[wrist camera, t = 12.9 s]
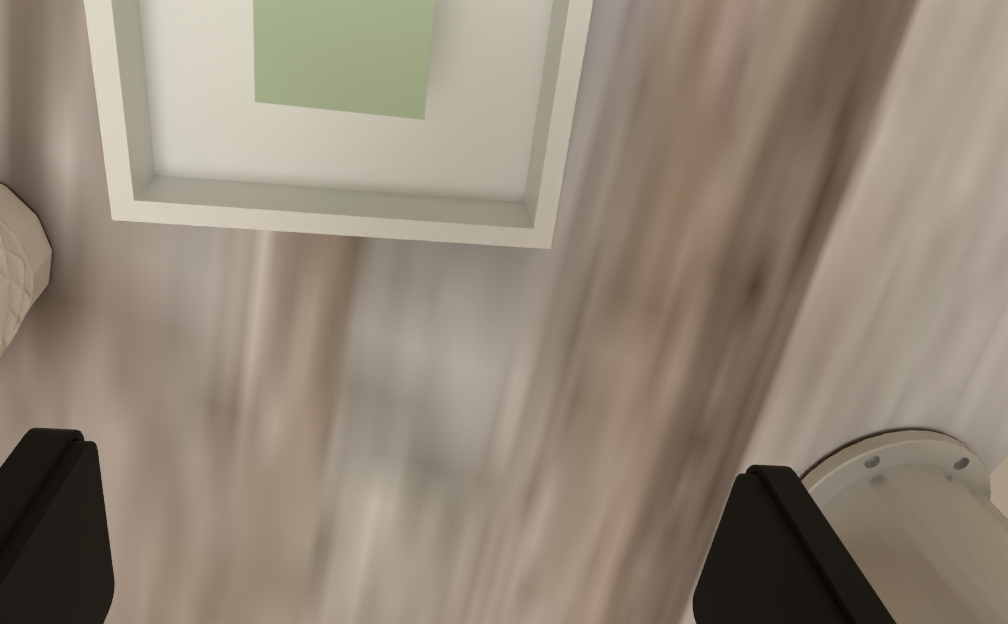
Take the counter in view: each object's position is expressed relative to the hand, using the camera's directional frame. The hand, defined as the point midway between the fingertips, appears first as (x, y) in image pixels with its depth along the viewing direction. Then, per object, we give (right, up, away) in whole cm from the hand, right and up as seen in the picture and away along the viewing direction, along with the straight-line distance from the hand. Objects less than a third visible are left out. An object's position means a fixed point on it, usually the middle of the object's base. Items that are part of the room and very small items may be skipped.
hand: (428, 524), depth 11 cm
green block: (-4, +14, +16) cm, 21 cm away
